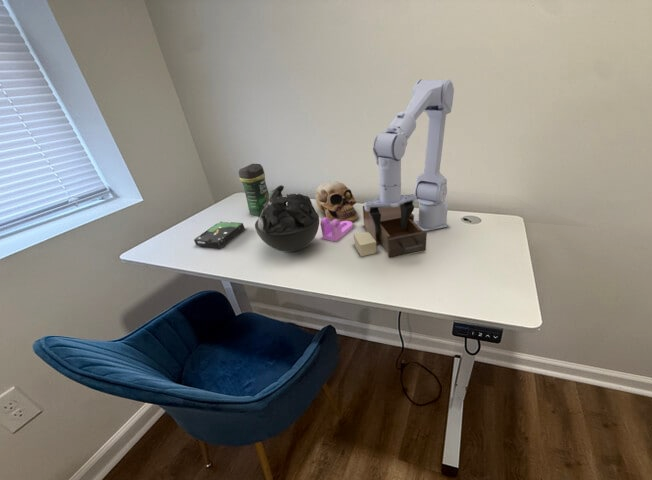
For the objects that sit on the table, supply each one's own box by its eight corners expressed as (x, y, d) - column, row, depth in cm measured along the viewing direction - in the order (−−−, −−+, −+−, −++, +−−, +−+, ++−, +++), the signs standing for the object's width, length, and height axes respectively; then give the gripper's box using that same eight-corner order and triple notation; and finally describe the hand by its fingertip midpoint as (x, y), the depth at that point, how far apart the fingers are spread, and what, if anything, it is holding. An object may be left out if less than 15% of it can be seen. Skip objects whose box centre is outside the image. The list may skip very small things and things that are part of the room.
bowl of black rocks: (312, 265, 97) (300, 206, 86) (252, 262, 101) (233, 205, 89) (330, 234, 113) (322, 181, 101) (278, 232, 116) (264, 180, 105)
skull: (355, 223, 119) (348, 187, 111) (312, 225, 123) (302, 191, 115) (364, 207, 131) (358, 174, 124) (325, 210, 135) (317, 178, 128)
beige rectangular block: (369, 242, 107) (368, 231, 105) (376, 252, 101) (376, 241, 99) (354, 245, 106) (353, 234, 103) (361, 256, 100) (360, 245, 98)
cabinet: (413, 236, 109) (414, 215, 104) (376, 244, 106) (374, 222, 101) (398, 220, 120) (398, 199, 115) (364, 226, 117) (362, 205, 112)
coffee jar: (263, 217, 127) (250, 169, 116) (247, 215, 130) (232, 168, 118) (277, 207, 135) (265, 162, 123) (261, 206, 137) (248, 161, 125)
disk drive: (221, 249, 109) (245, 229, 120) (218, 242, 107) (243, 222, 118) (196, 246, 111) (221, 227, 122) (192, 239, 109) (219, 220, 120)
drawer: (432, 258, 96) (434, 239, 92) (394, 266, 93) (394, 247, 89) (409, 232, 110) (409, 215, 106) (375, 238, 107) (374, 221, 103)
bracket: (336, 241, 109) (333, 222, 104) (322, 238, 111) (319, 220, 107) (355, 225, 117) (354, 207, 113) (343, 223, 120) (340, 205, 115)
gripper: (368, 192, 79) (371, 240, 88) (421, 183, 82) (419, 231, 91) (360, 183, 85) (364, 230, 93) (411, 175, 88) (410, 221, 96)
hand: (391, 230), depth 92 cm, fingers open, 7 cm apart
